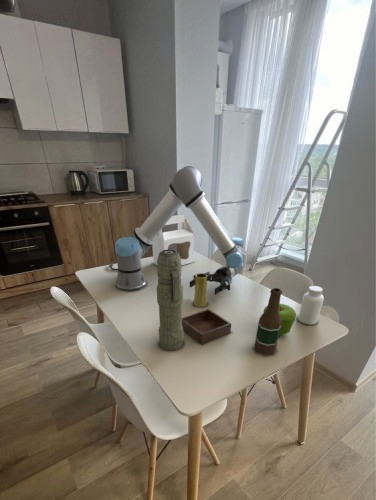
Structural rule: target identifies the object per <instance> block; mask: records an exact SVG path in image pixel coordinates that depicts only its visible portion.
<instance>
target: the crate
mask: <svg viewBox="0 0 376 500" xmlns="http://www.w3.org/2000/svg"><path fill="white" fill-rule="evenodd" d="M182 327H183V332H185V333H186V334H188V335H189V336H190V337H192V338H193V339H194V340H195V341H197V342H198V343H199V344H201V345H204V344H206V343H209V342H211V341H213V340H216V339H218V338H221V337H223V336H226V335H227V334H230V333H232V332H231V331H232V323H231V322H230V321H228V320H227V319H225V318H224V317H222V316H220V315H219V314H218V313H216V312H214V311H213V310H211V309H209V308H207V309H203V310H200V311H198V312H196V313H195V312H194V313H192V314H190V315H187V316H186V315H185V316H183V317H182Z"/></svg>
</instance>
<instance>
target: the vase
mask: <svg viewBox="0 0 376 500" xmlns="http://www.w3.org/2000/svg"><path fill="white" fill-rule="evenodd" d="M204 273H205V272H203V273H201V272H200V273H196V274H194V275H195V285H194V295H193V297H194V299H193V305H194V307H197V308H202V307H204V308H205V307H206V306H207V305H208V303H207V302H208V301H207V295H208V294H207V292H208V281H207V275H206V274H204Z"/></svg>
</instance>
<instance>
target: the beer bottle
mask: <svg viewBox="0 0 376 500" xmlns="http://www.w3.org/2000/svg"><path fill="white" fill-rule="evenodd" d="M269 293H270V294H269V299H268V303H267V305H268V306H267V305H266V306H267V309H266V311H265V312H264V311H263V312H264V313H262V314H261V315H260V317H259V320H258V323H257V330H256V334H255V335H256V336H255V341H254V349H255V351H256V352H257V353H258V354H260V355H263V356H271V355H273V354H274V353H275V352H276V351H277V347H278V342H279V338H280V335H279V334H280V329H281V325H282V318H281V315H280V313H279V304H281V296H282V294H283V290H282V289H281V288H278V287H273V288H271V289H270V291H269Z"/></svg>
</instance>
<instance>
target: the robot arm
mask: <svg viewBox="0 0 376 500" xmlns="http://www.w3.org/2000/svg"><path fill="white" fill-rule="evenodd" d="M202 184H203V179H202V174H201V171H199V170H198V169H197V168H196V167H194V166H191V165H187V166H184V167H182V168H181V169H179V170H177V171H176V172H175V174H174V176H173V178H172V181H171V182H170V183H169V184H168V191H167V193H166V194H165V195H164V196H163V198H162V199H161V200H160V202H159V203H158V204H157V205H156V206H155V208H154V209H153V211H152V212H151V213H150V214H149V216H148V217H147V218H146V219H145V221H144V222H143V223H142V225H140V227H136V228H135V229H134V230H133V231H132V233H131V234H130V235H129V236H124V237H121V238H119V239H117V240H116V241H115V244H114V246H115V247H114V251H115V255H116V263H117V268H114V267H113V265H114V263H110V266H109V269H111V270H112V271H118V272H117V277H116V283H115V284H116V287H117V288H118V289H119V290H122V291H127V292H129V291H131V292H132V291H138V290H141V289H143V288H145V287H146V286H147V282H146V277H145V276H144V273H143V271H142V262H141V261H142V260H141V259H142V257H143V256H145V254H147V253H148V251H149V249H150V248H151V247H152V244H153V239H154V237H155V236H156V235H157V234H158V233H159V231H160V230H161V229H162V230H163V228H164V227H165V226H166V225H165V224H166V223H167V222H168V221H169V219H170V218H171V217H172V216H174V215H175V214H176V213H177V211H178V210H179V209H180V207H181V206H182V205H184V206H185V208H186V209H190V211H191V212H192V214H193V215H194V217H196V220H197V221H198V222H199V223H200V225H201V226H202V228H203V229H204V230H205V232H206V233H207V235H208V236H209V238H210V239H211V240H212V242H213V243H214V244H215V245H216V247H217V248H218V250H219V252H220V253H221V255H222V256H223V257H224V259H225V260H226V261H225V262H226V263H225V264H224V265H223V266H221V267H219V268H217V269H216V270H215V272H214V273H211V272H210V271H207V272H203V273H204V274H206V275H207V282H216V283H219V285H218V286H217V287H215V288H214V292H213V293H214V295H215V296H216V295H218V294H219V293H221V292H224V291H226V290H227V291H231V284H232V282H233V278H234V277H235V276H237V275H238V274H240V273H241V272H242V271H243V269H244V263H243V261H244V256H243V255H244V253H243V250H244V239H243V238H242V237H237V236H235V237H231V235H230V234H229V232H228V231H227V229H226V228H225V226H224V225H223V223H222V222H221V220H220V219H219V218H218V216H217V214H216V213H215V212H214V210H213V208H212V207H211V205H210V204H209V202H208V201H207V200H206V198H205V192H204V191H203V190H202ZM195 275H196V274H194V275H193V278H192V279H191V280H190V281H189V288H192V287H195Z"/></svg>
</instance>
